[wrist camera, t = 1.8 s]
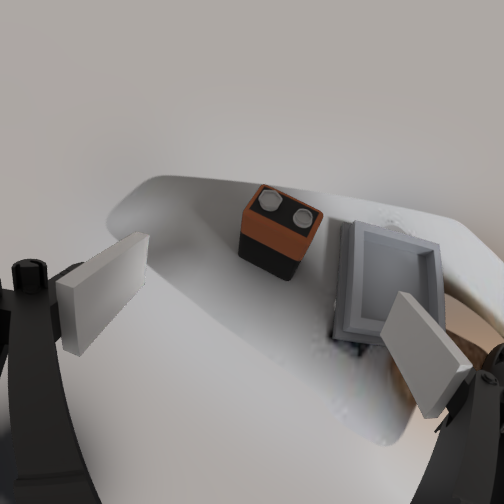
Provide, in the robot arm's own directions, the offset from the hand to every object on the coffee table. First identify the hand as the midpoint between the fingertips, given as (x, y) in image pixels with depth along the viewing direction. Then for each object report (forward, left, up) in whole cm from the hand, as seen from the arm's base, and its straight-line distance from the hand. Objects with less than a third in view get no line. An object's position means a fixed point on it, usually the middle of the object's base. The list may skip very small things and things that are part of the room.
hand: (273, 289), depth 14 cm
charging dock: (+10, -17, -18) cm, 26 cm away
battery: (+11, -1, -18) cm, 21 cm away
